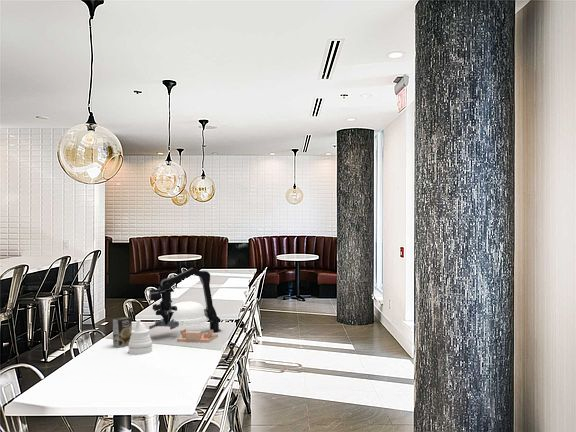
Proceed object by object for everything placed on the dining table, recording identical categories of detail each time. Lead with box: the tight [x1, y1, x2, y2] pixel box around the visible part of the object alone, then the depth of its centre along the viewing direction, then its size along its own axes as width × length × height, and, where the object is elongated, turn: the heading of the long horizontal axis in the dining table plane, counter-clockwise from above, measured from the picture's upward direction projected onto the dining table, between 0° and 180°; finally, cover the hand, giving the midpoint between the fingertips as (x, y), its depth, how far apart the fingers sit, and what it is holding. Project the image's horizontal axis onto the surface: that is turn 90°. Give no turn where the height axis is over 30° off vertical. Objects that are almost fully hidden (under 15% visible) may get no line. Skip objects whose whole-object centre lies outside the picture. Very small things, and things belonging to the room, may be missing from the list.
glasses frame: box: [148, 318, 180, 330], centre depth 346 cm, size 10×15×4 cm
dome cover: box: [170, 300, 209, 327], centre depth 399 cm, size 32×30×14 cm
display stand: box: [176, 328, 219, 343], centre depth 341 cm, size 16×20×6 cm
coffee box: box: [112, 316, 133, 349], centre depth 328 cm, size 9×6×16 cm
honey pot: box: [128, 319, 153, 356], centre depth 312 cm, size 13×13×18 cm
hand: (167, 324), depth 350 cm, fingers closed on glasses frame, 2 cm apart
